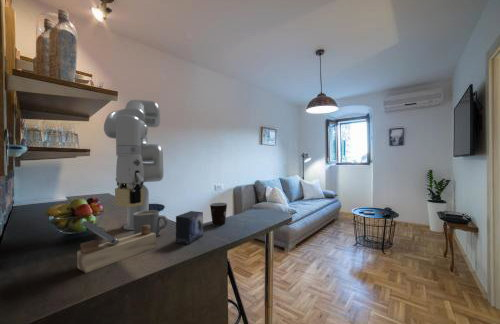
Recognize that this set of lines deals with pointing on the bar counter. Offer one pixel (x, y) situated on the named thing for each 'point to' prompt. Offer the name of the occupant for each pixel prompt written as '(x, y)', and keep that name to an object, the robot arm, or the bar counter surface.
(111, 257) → the wooden block plane
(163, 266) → the bar counter surface
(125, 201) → the olive cube-like block
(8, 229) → the bar counter surface
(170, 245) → the bar counter surface
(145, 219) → the coffee mug
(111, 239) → the lever
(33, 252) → the bar counter surface
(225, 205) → the coffee mug
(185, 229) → the small box
